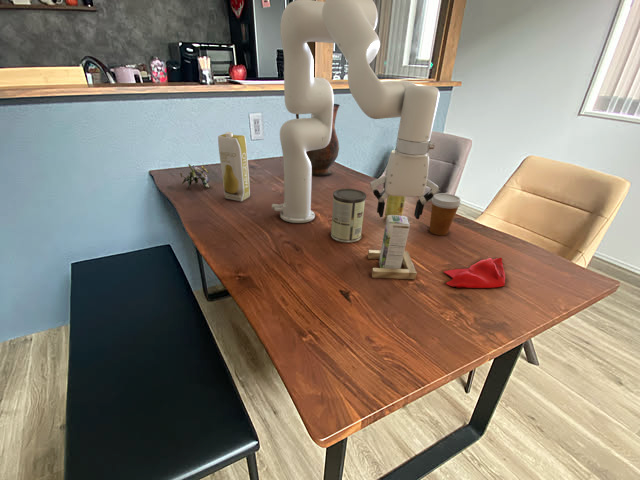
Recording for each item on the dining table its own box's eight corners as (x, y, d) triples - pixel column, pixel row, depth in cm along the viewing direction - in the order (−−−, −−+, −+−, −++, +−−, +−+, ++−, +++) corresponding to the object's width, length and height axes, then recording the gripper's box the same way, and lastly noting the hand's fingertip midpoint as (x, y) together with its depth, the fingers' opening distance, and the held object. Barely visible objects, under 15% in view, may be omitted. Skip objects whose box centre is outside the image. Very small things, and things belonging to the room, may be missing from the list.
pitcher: (343, 176, 176) (348, 104, 157) (303, 180, 168) (304, 105, 150) (327, 167, 187) (331, 99, 169) (289, 170, 179) (288, 100, 161)
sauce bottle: (400, 225, 131) (411, 167, 119) (383, 223, 131) (392, 165, 119) (401, 218, 136) (411, 162, 124) (384, 216, 137) (393, 160, 125)
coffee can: (335, 227, 126) (338, 186, 118) (364, 232, 124) (369, 191, 115) (326, 239, 119) (328, 196, 110) (356, 245, 116) (361, 201, 108)
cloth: (468, 299, 94) (471, 291, 92) (431, 274, 103) (433, 267, 102) (532, 276, 105) (535, 270, 103) (493, 256, 114) (495, 249, 113)
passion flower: (208, 200, 157) (214, 181, 147) (182, 198, 152) (186, 179, 142) (203, 178, 160) (208, 159, 150) (177, 176, 155) (181, 156, 145)
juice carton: (222, 198, 144) (213, 132, 130) (233, 193, 150) (226, 128, 136) (242, 203, 142) (236, 135, 127) (252, 196, 148) (248, 131, 133)
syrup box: (378, 261, 108) (385, 214, 99) (398, 262, 108) (407, 215, 99) (380, 271, 103) (388, 222, 95) (401, 272, 103) (411, 223, 95)
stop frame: (372, 277, 100) (373, 271, 99) (367, 255, 111) (368, 249, 110) (415, 279, 101) (416, 273, 99) (406, 257, 111) (407, 251, 110)
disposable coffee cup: (437, 239, 122) (446, 204, 115) (419, 228, 129) (426, 194, 122) (458, 234, 126) (468, 200, 119) (439, 224, 133) (447, 191, 125)
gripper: (443, 145, 89) (427, 212, 100) (373, 141, 89) (364, 209, 99) (452, 153, 83) (434, 223, 94) (377, 148, 83) (367, 220, 94)
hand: (398, 216), depth 97 cm, fingers open, 9 cm apart
